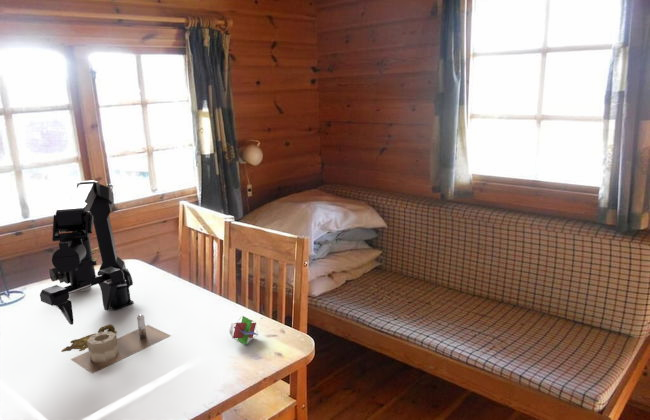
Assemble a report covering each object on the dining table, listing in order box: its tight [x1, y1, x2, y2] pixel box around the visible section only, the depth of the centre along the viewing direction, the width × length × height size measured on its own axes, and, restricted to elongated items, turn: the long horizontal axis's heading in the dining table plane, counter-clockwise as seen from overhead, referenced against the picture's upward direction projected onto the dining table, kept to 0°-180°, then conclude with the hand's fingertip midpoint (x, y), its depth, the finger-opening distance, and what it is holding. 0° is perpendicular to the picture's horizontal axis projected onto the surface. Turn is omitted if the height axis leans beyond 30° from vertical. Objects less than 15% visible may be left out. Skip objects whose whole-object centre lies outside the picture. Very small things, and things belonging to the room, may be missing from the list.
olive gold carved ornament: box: [60, 324, 118, 353], centre depth 133 cm, size 9×5×15 cm
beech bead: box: [87, 330, 119, 362], centre depth 125 cm, size 6×6×5 cm
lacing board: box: [70, 324, 172, 374], centre depth 130 cm, size 22×11×1 cm, turn 142°
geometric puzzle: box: [229, 315, 259, 347], centre depth 132 cm, size 7×7×8 cm
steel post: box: [136, 313, 147, 339], centre depth 134 cm, size 2×2×7 cm
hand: (89, 316), depth 124 cm, fingers open, 9 cm apart
